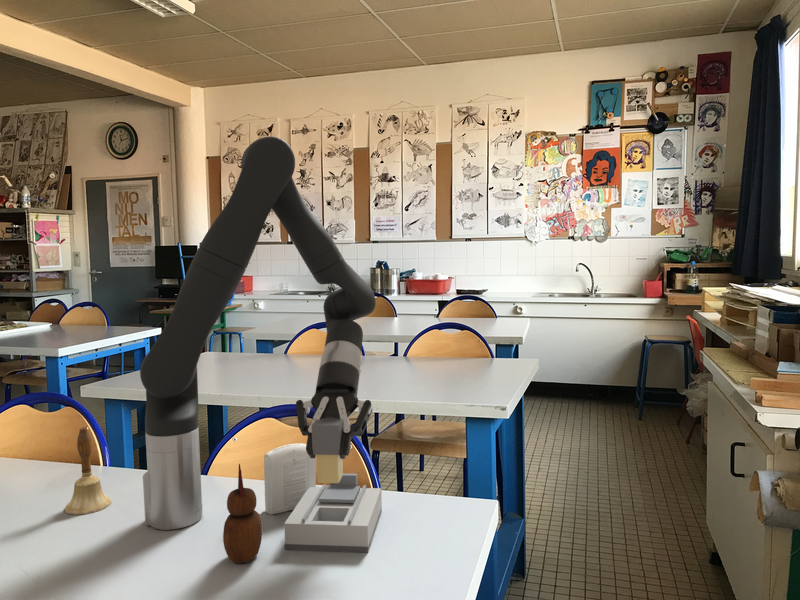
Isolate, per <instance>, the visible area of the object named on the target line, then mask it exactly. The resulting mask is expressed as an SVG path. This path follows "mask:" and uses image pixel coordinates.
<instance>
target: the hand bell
mask: <svg viewBox="0 0 800 600" xmlns="http://www.w3.org/2000/svg"><path fill="white" fill-rule="evenodd" d="M78 432H79V433H78V435H77V440H76V446H77V451H78V455H79V456H80V461H81V477H79V478H77V479H76V480H75V482H74V486H73V493H72V497H71V499H70V501H69V502H68V503H67V504H66V505H65V508H64V512H65V513H66V514H68V515H72V514H73V516H74V515H75V516H77V515H78V516H79V515H82V514H83V515H88V514H89V513H90V514H93V513H97V512H100V511H102V510H104V509H107V507H110V505H111V504H112V499H111V498H110V497H109V496H107V495H106V494H105V492H104V491H103V488H102V485H101V479H100V478H99V476H95V475H93V473H92V466H91V455H92V450H93V441H92V437H91V436H92V435H91V434H90V432H89V430H88V427H86V426H85V427H80V428H79V431H78Z"/></svg>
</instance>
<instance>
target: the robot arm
mask: <svg viewBox="0 0 800 600" xmlns="http://www.w3.org/2000/svg"><path fill="white" fill-rule="evenodd" d="M240 164H241V165H240V166H241V171H240V174H239V176H238V179H237V181H236V183H235V186H234V188H233V191H232V193H231V195H230V197H229V198H228V201H227V203H226V205H225V206H223V209H222V210H221V212H220V213H219V214H218V216H217V217H216V218H215V220H214V221H213V223H212V224H211V226H210V227H209V229H208V230H207V232H206V234H205V235H204V237H203V239H202V240H201V242H200V244H199V246H198V249H197V250H196V253H195V254H194V256H193V257H192V258H193V259H192V261H191V262H190V265H189V267H188V269H187V271H186V275H185V277H184V278H183V281H182V284H181V287H180V289H179V292H178V294H177V298H176V301H175V304H174V306H173V309H172V310H171V313H170V317H169V318H168V321H167V322H166V323H165V326H164V328H163V329H162V330H161V333H160V334H159V336H158V337H157V339H156V341H155V342H154V344H153V345H152V347H151V348H150V350H149V351H148V352H147V354H146V355H145V356H144V358H143V360H142V362H141V364H140V369H139V377H140V381H141V384H142V386H143V387H144V389H145V397H146V400H145V402H146V403H145V405H146V407H145V415H144V426H145V427H144V429H145V446H146V447H145V448H146V462H147V463H146V464H147V465H146V466H147V467H146V468H147V471H146V472H145V473H144V474H142V486H143V503H144V504H143V508H144V524H145V526H151V528H153V529H157V530H160V531H161V530H162V531H163V530H164V531H167V530H169V531H171V530H178V529H182V528H186V527H189V526H192V525H193V524H195V523H197V522H199V521H200V520H201V519H202V517H203V501H202V500H203V497H202V496H203V495H202V492H203V491H202V477H201V476H202V474H201V454H200V453H201V451H200V450H201V449H200V435H199V388H198V387H199V385H198V383H199V382H198V381H199V380H198V363H199V359H200V357H201V354H202V351H203V349H204V346H205V344H206V341H207V339H208V336H209V335H210V333H211V331H212V329H213V328H214V326H215V324H216V323H217V322H218V319H219V318H220V316H222V314H223V312H224V310H225V308H226V307H227V305H228V304H229V302H230V300H231V299H232V297H233V295H234V293H235V292H236V290H237V289H238V286H239V285H240V283H241V280H242V278H243V276H244V275H245V272H246V270H247V267H248V265H249V264H250V261H251V258H252V256H253V253H254V251H255V249H256V246H257V244H258V241H259V239H260V236H261V234H262V231H263V228H264V226H265V223H266V221H267V218H268V216H269V214H271V213H270V212H271V211H273V212H274V214H275V216H276V217H277V218H278V220H279V221H280V223H281V224H282V226H283V228H284V229H285V231H286V232H287V235H288V236H289V238H290V240H291V242H292V243H293V244H294V247H295V248H296V250H297V252H298V253H299V255H300V257H301V258H302V260H303V262H304V264H305V265H306V267H307V268H308V270H309V273H311V275H312V276H313V277H312V278H314V280H315V281H316V282H317V283H318V284H319V285H331V284H332V285H333V284H334V285H337V286H338V287H340V288H339V289H336V290H333V291H332V292H330V293H329V294H328V295H327V296H326V298H325V300H324V301H323V306H322V307H323V313H324V320H325V327H326V335H325V336H326V338H325V343H324V349H323V352H322V355H321V357H320V362H319V368H318V369H319V370H318V374H317V380H316V386H315V387H316V388H315V392H314V395H313V396H312V398H311V399H309V400H306V401H304V400H302V399H297V400H296V402H295V406H296V415H297V424H298V428H299V430H300V433H301V435H302V437H303V436H304V437H305V436H306V437H307V440H306V443H305V444H306V451H307V453H308V455H309V456H310V458H315V459H316V457H317V456H316V455H313V449H312V424H313V423H314V422H315V421H316V420H317V419H321V418H340V419H341V420H343V434H342V436H341V444H340V450H339V456H340V458H341V459H342V460H346V457H347V456H349V454H350V451H351V444H352V439H353V438H354V437H362V436H363V434H364V432H365V430H366V427H367V424H368V422H369V420H370V418H371V415H372V413H373V406H372V405H373V404H372V402H371V400H370V399H366V400H364V401H363V400H359V397H358V391H359V383H360V382H359V381H360V376H361V375H360V374H361V370H362V368H361V365H362V357H361V356H362V355H361V354H362V348H363V347H362V346H363V336H364V332H363V327H362V326H361V325H360V323H359V324H358V322H356V320H359V319H362V318H364V317H367V316H369V315H370V314H372V313H373V312H374V310H375V308H376V302H377V301H376V295H375V293H374V291H373V290H372V288H371V286H370V285H369V284H368V283H367V282H366V281H365V280H364V279H363V278H362V277H361V276H360V275H359V274H358V273H357V272H356V271H355V270H354V268H352V266H350V265H349V264H348V263H347V262H346V260H345V259H344V257H343V255H342V253H341V251H340V250H339V248H338V246H337V245H336V243H335V242H334V239H333V238H332V236H331V235H330V233H329V232H328V231H327V229H326V228H325V226H324V225H323V224H322V222H320V220H319V219H318V217H317V216H316V215H315V214H314V212H312V210H311V208H310V207H308V206H309V205H307V203H306V202H305V200H304V199H303V197H302V195H301V193H300V191H299V190H298V188H297V185H296V183H295V181H294V178H293V175H294V173H295V168H296V157H295V153H294V151H293V149H292V147H291V145H290V144H289V143H288V142H287V141H286V140H284V139H282V137H281V138H280V137H277V136H264V137H260V138H258V139H256V140H254V141H253V142H251V143H250V145H248V146H247V147H246V149H245V150H244V151H243V153H242V156H241V163H240ZM312 408H313V410H314V411H315V412H314V415H313V417H312V421H311V423H310V425H308V418H307V417H308V414H310V410H311V409H312ZM357 408H358V412H359V414H358V416H357V418H356V420H355V423H354V425H351V423H350V418H349V417H350V416H351V415H352V414H353V413H354V412H355V411H356V409H357Z"/></svg>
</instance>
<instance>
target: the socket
mask: <svg viewBox="0 0 800 600" xmlns="http://www.w3.org/2000/svg"><path fill="white" fill-rule="evenodd" d="M326 486H327V483H322V486H316V487H309V488H308V489H307V491H306V492H305V494H304V495H303V497H302V498H301V500H300V501H299V503H298V504H297V506H296V507H295V509H293V510H292V512H291V513H290V515H289V516H288V517H287V519H286V520H285V522H284V523H283V525H284V548H285V549H284V550H285V551H309V552H310V551H312V552H314V551H315V552H319V551H320V552H343V553H367V554H368V553H369V551H370V548H371V545H372V542H373V539H374V536H375V534H376V530H377V527H378V524H379V521H380V518H381V515H382V512H383V510H382V507H383V505H382V504H383V502H382V488H380V487H379V488H377V487H376V488H375V487H367V484H363V485H362V487H360V491H359V493H358V495H357V497H356V500H355V502H354V503H334V502H319V497H320V496H321V494H322V493H323V491H324V489H325V488H326Z"/></svg>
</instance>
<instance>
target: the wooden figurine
mask: <svg viewBox="0 0 800 600" xmlns="http://www.w3.org/2000/svg"><path fill="white" fill-rule="evenodd" d="M242 474H243V473H242V468H241V463H238V482H237V483H238V484H237V485H238V486H237V488H235V489H233V490H231V491H230V492H229V493H228V496H227V500H226V508H227V511H228V514H229V515H228V516H227V517H226V519H225V521H224V525H223V534H222V541H223V542H222V543H223V548H224V551H225V553H226V556H227V557H228V559H229V560H230V561H232V562H233V563H236V564H243V563H244V564H245V563H248V562H250V561H252V560H253V559H255V558H256V557H257V556H258V554H259V553H260V552H259V551H260V548H261V545H262V540H263V539H262V538H263V523H262V522H263V521H262V517H261V515H260V514H259V512H257V511H256V510H255V509H256V507H257V496H256V495H257V494H256V493H255V491H254V490H253V489H252V488H250V487H245V486H244V481H243V476H242Z"/></svg>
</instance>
